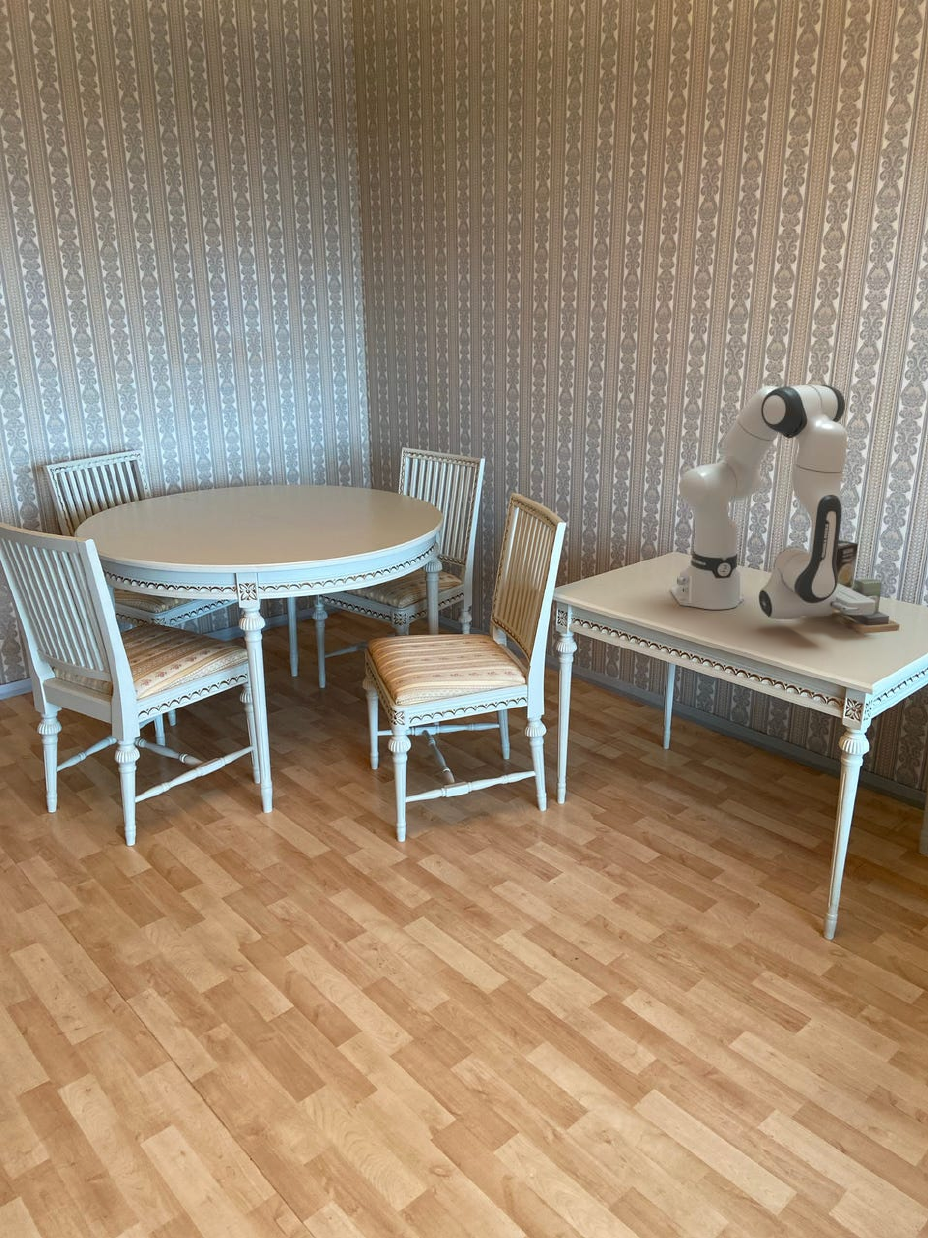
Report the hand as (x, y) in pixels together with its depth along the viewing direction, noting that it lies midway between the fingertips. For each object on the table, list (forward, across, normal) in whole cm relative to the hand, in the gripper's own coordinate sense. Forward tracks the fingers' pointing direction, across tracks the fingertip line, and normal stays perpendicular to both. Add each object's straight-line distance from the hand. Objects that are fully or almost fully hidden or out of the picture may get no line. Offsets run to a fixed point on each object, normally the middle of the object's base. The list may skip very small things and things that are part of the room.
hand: (869, 595), depth 252 cm
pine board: (-1, +4, +8) cm, 8 cm away
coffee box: (+3, +21, +8) cm, 23 cm away
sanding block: (-1, 0, +6) cm, 6 cm away
